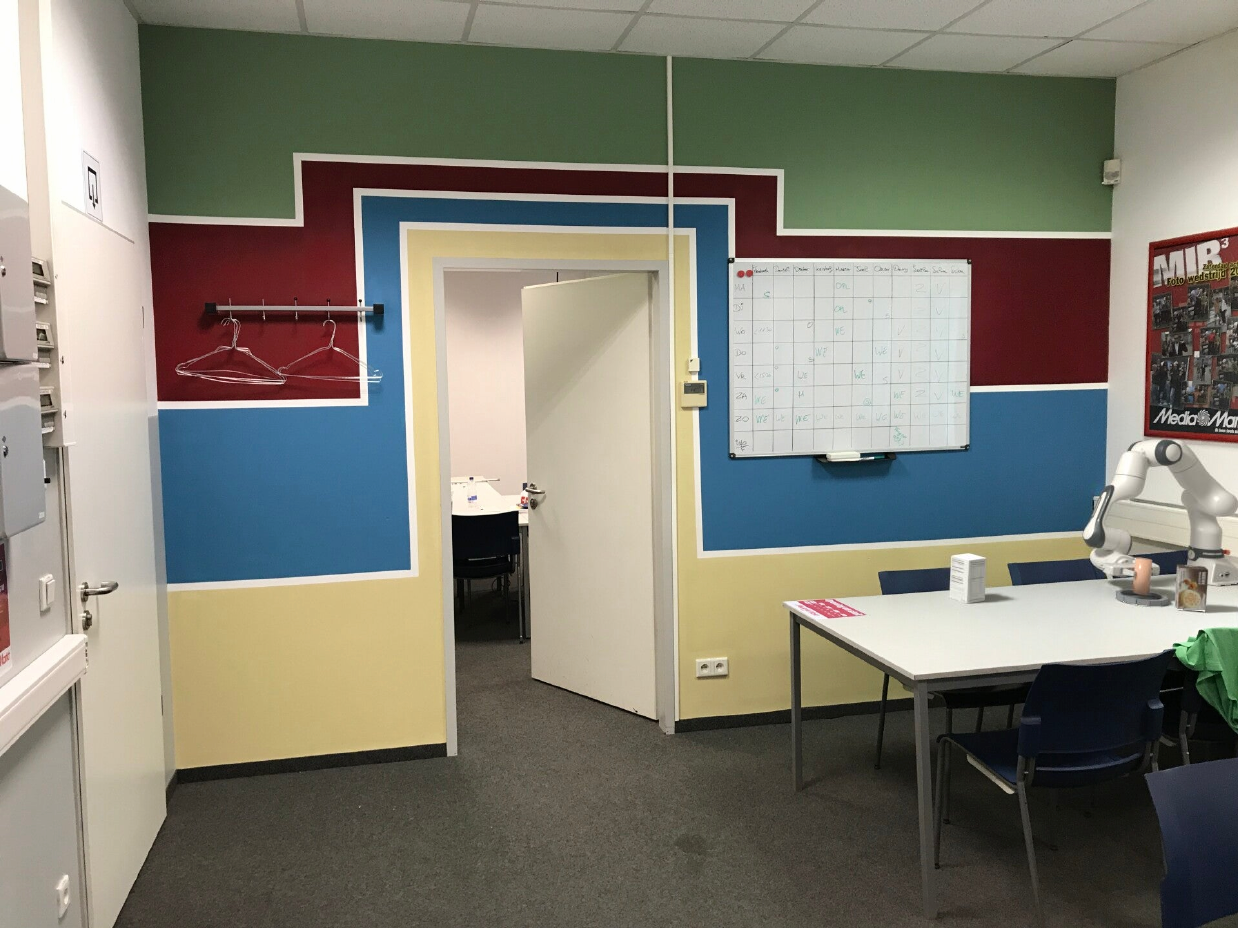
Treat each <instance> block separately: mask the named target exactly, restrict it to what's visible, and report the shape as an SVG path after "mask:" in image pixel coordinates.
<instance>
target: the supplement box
mask: <svg viewBox="0 0 1238 928" xmlns="http://www.w3.org/2000/svg"><path fill="white" fill-rule="evenodd" d="M987 560H988V559H987V557H984V556H980V555H976V554H973V553H970V552H969V553H963V554H962V553H961V554H954V555H951V556H950V574H949V575H950V577H949V579H950V580H949V599H952V600H955V601H958V602H960V603H965V604H973V603H980V602H984V601H986V600H985V597H986V584H987V582H986V581H987V580H986V578H987Z"/></svg>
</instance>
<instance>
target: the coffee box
mask: <svg viewBox="0 0 1238 928" xmlns="http://www.w3.org/2000/svg"><path fill="white" fill-rule="evenodd" d="M1175 575H1176V577H1175V579H1176V580H1175V589H1174V590H1175V595H1174V605H1175V606H1174V607H1175V609H1176V608H1177V609H1183V610H1207V597H1208V596H1207V595H1208V584H1207V583H1208V569H1207V568H1205V567H1204V566H1192V565H1187V564H1176V574H1175ZM1177 609H1176V610H1177Z"/></svg>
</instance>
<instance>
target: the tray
mask: <svg viewBox="0 0 1238 928" xmlns="http://www.w3.org/2000/svg"><path fill="white" fill-rule="evenodd" d="M1132 591H1133V588H1128V589H1127V588H1125V589H1122V588H1121V589H1118V590H1115V596H1116V597H1115V600H1116V599H1117V600H1116V601H1119V600H1120V601H1119V602H1121V601H1124V602H1127V603H1126V604H1128V603H1132V604H1137V605H1136V606H1138V605H1147V606H1146V607H1148V606H1161V607H1164V606H1163V605H1165V606H1168V602H1169V601H1168V600H1169V599H1168V597H1167V595H1164V594H1162V593H1159V592H1156V591H1155V592H1154V591H1149V594H1148V595H1141V594H1136V593H1133V592H1132ZM1124 602H1123V603H1124ZM1132 604H1131V605H1132Z"/></svg>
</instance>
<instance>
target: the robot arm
mask: <svg viewBox="0 0 1238 928" xmlns="http://www.w3.org/2000/svg"><path fill="white" fill-rule="evenodd" d="M1163 466H1164V467H1167V469H1168V470H1169V472H1170V473H1171V475H1172V476H1173V478H1174V479H1175V481H1176V482H1177V483H1178V485H1179V487H1181V488H1182V489H1183V491H1182V492H1181V496H1180V498H1181V499H1180V501H1181V503H1182V504H1183V506H1184V507H1185V510H1186V512H1187V515H1188V519H1189V526H1190V527H1189V528H1190V535H1189V537H1190V538H1189V545H1188V547H1187V563H1186V565H1192V566H1204V567H1205V568H1207V569H1208V583H1207V585H1210V586H1215V587H1216V586H1217V587H1221V585H1225V586H1232V585H1231V584H1235V583H1238V567H1237V566H1236V565H1234V563H1232V562H1231V561H1229V560H1228V559H1227V558H1226V557H1225V555H1226V556H1230V554H1231V552H1232V551H1231V550H1229V549H1223V548H1222V543H1223V529H1222V527H1221V526H1220V524H1219V522H1218V519H1217V518H1220V517H1221V518H1227V517H1230V516H1233V515H1235V513H1236V512H1237V511H1238V498H1237V497H1236V496H1235V495H1234V494H1232V493H1231V492H1229V491H1228V490H1227V489H1226V488H1224V486H1223V485H1222V484H1220V483H1219V481H1217V480H1216V479H1215V478H1214V477H1213V476H1212V475H1211V474H1210V473H1209V472H1208V471H1207V469H1206V467H1205V466H1204V465H1203V464H1202V462H1201V460H1200V459H1199V457H1197V455H1196V454H1195V452H1194V451H1193V450H1192V448H1191V447H1190V446H1188V445H1187V444H1186V443H1185V442H1184V441H1183V440H1181V439H1172V440H1171V439H1159V438H1158V439H1157V438H1156V439H1148V440H1139V441H1138V440H1137V441H1135V442H1133V443H1131V444H1130V445H1129V447H1128V448H1127V451H1125V452H1124V453H1122V455H1121V456H1120V459H1119V461H1118V464H1117V466H1116V469H1115V473H1114V477H1113V479H1112V481H1111V483H1110V484H1109V485H1106V486H1105V487H1104V488H1103V489H1102V490H1101V492H1100V494H1099V497H1098V499H1097V500H1096V504H1095V506H1094V509H1093V512H1092V514H1091V516H1090V518H1089V520H1088V522H1087V524H1086V525H1085V526H1084V529H1083V531H1082V539H1083V541H1084V543H1085V545H1086V546H1087V547H1089V548H1094V549H1092V550H1091V552H1090V554H1089V559H1090V562H1091V563H1092V565H1093V566H1095V567H1096V568H1097V569H1099V570H1101V571H1102V572H1103V573H1104V574H1106V575H1108V576H1111V577H1112V576H1115V577H1119V578H1121V579H1122V578H1128V577H1134V576H1137V572H1136V571H1134V568H1135V558H1141V557H1137V556H1131V555H1130V556H1129V554H1130V551H1131V550H1132V547H1133V538H1132V536H1131V534H1130V533H1129V531H1127V530H1125V529H1120V528H1117V527H1113V526H1109V525H1106V520H1107V518H1108V516H1109V513H1110V510H1111V509H1112V508H1111V507H1112V506H1113V505H1114V504H1115V503H1117V502H1119V501H1126V500H1133V499H1134V498H1137V497H1138V496H1140V495H1141V494H1142V492H1143V491H1144V488H1145V485H1146V479H1147V474H1148V470H1149V468H1155V467H1157V468H1158V467H1163ZM1160 570H1161V569H1160V565H1158V564H1156V563H1155V562H1152V568H1151V577H1154V576H1159V575H1160Z"/></svg>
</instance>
